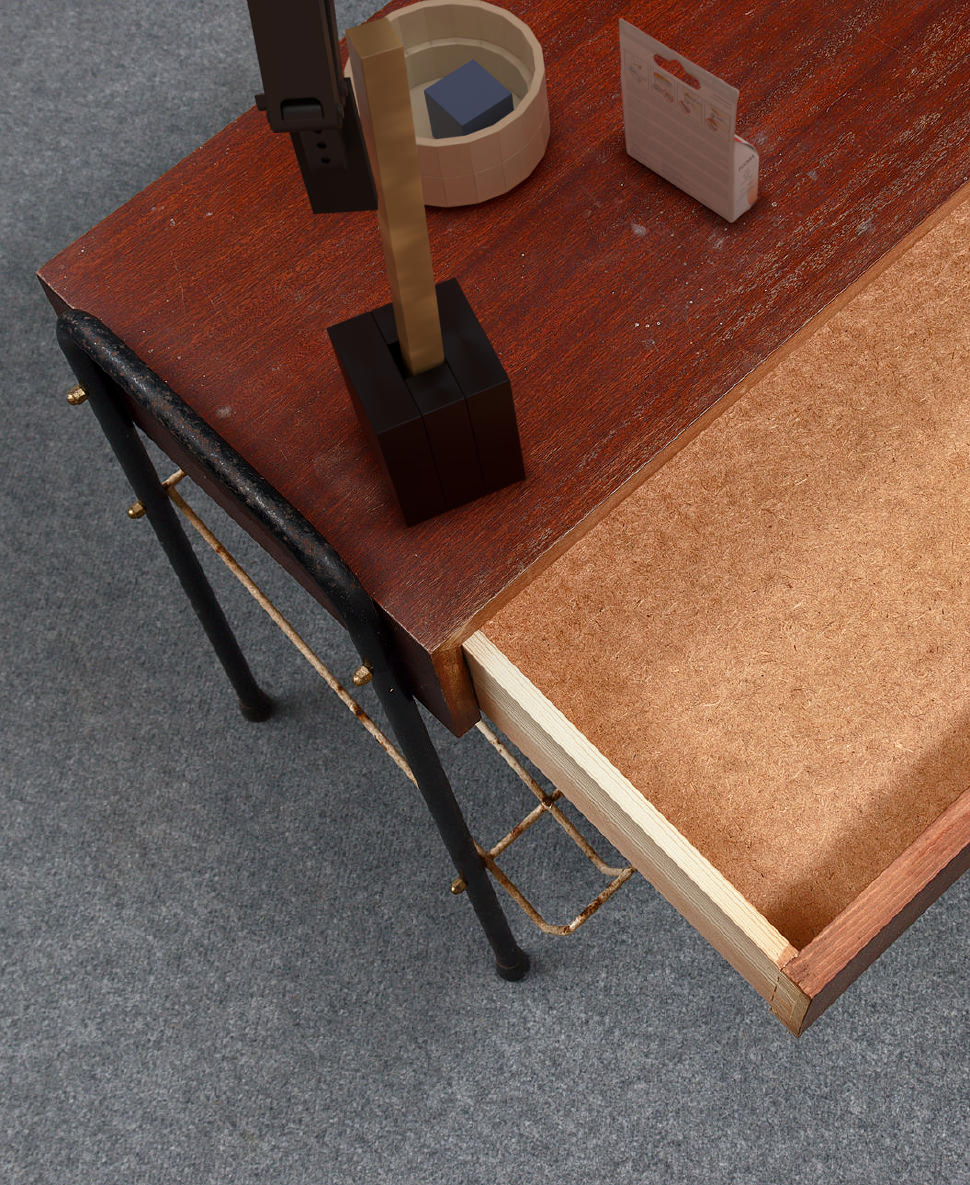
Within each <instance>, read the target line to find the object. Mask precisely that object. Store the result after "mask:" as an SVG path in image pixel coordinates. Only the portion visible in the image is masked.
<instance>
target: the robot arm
mask: <svg viewBox="0 0 970 1185" xmlns="http://www.w3.org/2000/svg"><path fill="white" fill-rule="evenodd" d="M246 3H247V9H248V13H249V20H250V25H251V30H252V35H253V41H254V45H255V51H256V56H257V61H258V66H259V72H260V77H261V82H262V87H263V92H260V93H257V94H255V95H254V101H255V105H256V108H257V110H258V112H265V114H266V121H267V123H268V124H269V129H270V130H271V131H272V134H285V133H288V134H289V137H290V140H291V143H292V147H293V150H294V154H295V157H296V160H297V164H298V167H299V170H300V174H301V177H302V180H303V184H304V187H305V190H306V195H307V197H308V201H309V204H310V207H311V211H312V215H321V214H323V215H325V214H339V213H340V214H341V213H355V212H356V213H357V212H370V211H371V212H372V211H376V210H378V194H377V189H376V185H375V181H374V177H373V172H372V168H371V164H370V159H369V155H368V151H367V147H366V142H365V138H364V134H363V129H362V125H361V121H360V117H359V112H358V108H357V104H356V99H355V95H354V91H353V87H352V82H351V78H350V77H344V69H343V63H342V56H341V46H340V39H339V38H340V37H339V30H338V20H337V13H336V12H337V11H336V4H335V0H246Z"/></svg>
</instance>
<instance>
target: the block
mask: <svg viewBox="0 0 970 1185" xmlns="http://www.w3.org/2000/svg"><path fill="white" fill-rule="evenodd" d="M424 95H425V100H426V105H427V110H428V115H429V121H430V126H431V131H432V136H433V137H434V138H435V139H443V138H451V137H459V136H466V135H469V134H472V133H474V132H477V131H479V130H482V129H485V128H487V127H490V126H493V125H494V124H496V123H497V122H499V121H500V120H501V119H503V118H504V117H506V116H507V115H508V114H510V113H511V112H512V111H514V105H513V97H512V93H511V92H510V91H509V90H508V89H507V88H505V87H504V86H503V85H502V84H501V83H500V82H499V81H498V80H496V79H495V78H494V77H493V76H492V75H491V74H490V73H489V72H487V71H486V70H485V69H484V68H483V67H482V66H481V65H479V64H478V63H477V62H476V61H475V60H474V59H472V60H471V61H469V62H468V63H466V64H464V65H463V66H461V67H460V68H458V69H457V70H455V71H453V72H452V73H450V74H449V75H447V76H445V77H444V78H442V79H441V80H439V81H437V82H436V83H434V84H433V85H431V86H430V87H428V88H426V89H425V90H424Z"/></svg>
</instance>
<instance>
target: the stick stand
mask: <svg viewBox="0 0 970 1185" xmlns="http://www.w3.org/2000/svg"><path fill="white" fill-rule="evenodd" d="M435 291H436V298H437V306H438V314H439V321H440V329H441V337H442V344H443V352H444V360H445V364H442V365H440V366H437V367H435V368H432V369H430V370H427V371H425V372H422V373H420V374H417V375H415V376H412V377H410V378H407V379H406V377H405V371H404V366H403V360H402V354H401V349H400V343H399V337H398V331H397V326H396V320H395V314H394V309H393V303H392V301H391V302H389V303H386V304H384V305H381V306H378V307H376V308H373V309H371V310H368V311H366V312H363V313H361V314H358V315H355V316H353V317H350V318H348V319H345V320H342V321H340V322H338V323H335V324H332V325H330V326H328V327H326V329H325V330H326V333H327V335H328V338H329V341H330V345H331V347H332V349H333V353H334V354H335V358H336V361H337V364H338V366H339V370H340V372H341V375H342V378H343V381H344V385H345V386H346V390H347V392H348V395H349V398H350V401H351V404H352V406H353V409H354V412H355V415H356V418H357V421H358V424H359V426H360V429H361V433H362V434H363V435H364V438H365V440H366V442H367V444H368V447H369V449H370V451H371V453H372V455H373V457H374V460H375V462H376V464H377V467H378V468H379V471H380V473H381V474H382V477H383V479H384V482H385V483H386V485H387V488H388V490H389V492H390V494H391V496H392V498H393V500H394V502H395V505H396V507H397V509H398V511H399V514H400V515H401V518H402V520H403V521H404V524H405V526H406V528H407V529H410V528H412V527H415V526H417V525H419V524H421V523H424V522H426V521H429V520H431V519H433V518H436V517H438V516H440V515H443V514H445V513H447V512H450V511H452V510H455V509H457V508H459V507H462V506H464V505H466V504H469V503H471V502H474V501H476V500H479V499H481V498H483V497H485V496H489V495H491V494H493V493H495V492H498V491H500V490H502V489H505V488H507V487H510V486H512V485H515V484H516V483H520V482H521V481H524V480H526V479H527V476H526V470H525V463H524V457H523V451H522V445H521V438H520V433H519V432H520V431H519V427H518V420H517V414H516V408H515V403H514V402H515V401H514V396H513V389H512V388H513V387H512V383H511V379H510V376H509V375H508V373H507V371H506V369H505V367H504V365H503V363H502V362H501V360H500V358H499V356H498V354H497V352H496V351H495V349H494V347H493V345H492V343H491V340H489V337H488V336H487V334H486V332H485V330H484V328H483V326H482V325H481V323H480V321H479V319H478V317H477V315H476V313H475V311H474V309H473V307H472V306H471V304H470V302H469V300H468V298H467V296H466V294H465V293H464V291H463V288H462V287H461V285H460V283H459V282H458V279H457V278H456V277H455V276H454V277H452V278H448V279H446V280H444V281H441V282H438V283H436V284H435Z"/></svg>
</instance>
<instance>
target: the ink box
mask: <svg viewBox="0 0 970 1185" xmlns="http://www.w3.org/2000/svg"><path fill="white" fill-rule="evenodd" d="M618 32H619V36H618V37H619V52H620V84H621V85H620V87H621V99H622V100H621V101H622V108H623V109H622V112H623V123H624V124H623V127H624V136H625V148H626V154H627V155H629V156H630V157H631V158H633V159H634V160H636V161H638V162H639V163H641V165H643V166H645V167H646V168H648V169H650V170H651V171H653V172H654V173H656V174H657V175H659V176H660V177H662V178H664V180H666V181H668V182H669V183H670V184H671V185H674V186H676V187H677V188H678V189H680V190H682V191H683V192H684V193H685V194H687V195H688V196H690V197H691V198H693V199H695V200H697V202H699V203H701V204H702V205H703V206H705V207H706V208H708V209H710V210H711V211H713V212H714V213H716V214H717V215H719V216H720V217H722V218H723V219H725V220H726V221H727V222H729V223H731V224H732V223H735V221H736V220H738V219H739V217H740V216H742V215H743V214H745V213H746V212H747V211H748V210H749V209H750V208H751V207H752V206H753V205H754V204H755V202H756V201H757V200H758V190H759V168H760V167H759V166H760V157H759V153H758V151H757V149H756V147H755V146H754V145H753V144H751V143H750V142H748V141H746V140H745V139H743V138H742V137H740V136H739V135H737V134H736V126H737V125H736V122H737V109H738V103H739V98H740V90H739V89H738V88H736V87H735V86H732V85H731V84H729V83H727V82H726V81H725V80H723V79H722V78H720V77H717V76H715V74H713V73H711V72H709V71H707V70H706V69H705V68H703V67H701V66H699V65H698V64H696V63H695V62H693V61H691V60H690V59H688V58H686V57H685V56H684V55H681V54H680V53H679V52H676V51H675V50H674V49H672V48H669V47H668V46H667V45H665V44H664V43H662V42H660V41H659V40H658V39H655V38H654V37H653V36H651V35H649V34H647V33H646V32H644V31H643V30H641V29H640V28H639V27H637V26H635V25H633V24H632V23H631V22H628V21H627V20H625V19H624V18H621V17H620V18H618ZM656 55H658V56H660V57H662V58H663V59H665V60H666V61H668V62H671V61H677V62H678V63H679V64H680V65H681V66H682V69H683V70H684V72H685V73H686V74H687V75H690V76H691V77H693V78H695V79H696V80H697V81H698V83H699V86H700V87H699V88H698V89H696V88H694V87H692V86H691V85H690V84H688V83H686V82H685V81H683V80H682V79H680V78H678V77H677V76H676V75H674V74H672V73H670V72H669V71H668V70H666V69H665V68H662V67H661V66H660V65H659V64H658V63H657V62H656V59H655V56H656Z"/></svg>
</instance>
